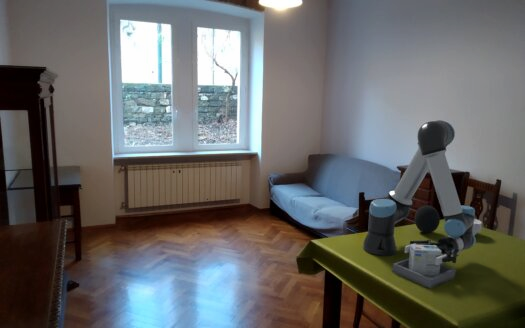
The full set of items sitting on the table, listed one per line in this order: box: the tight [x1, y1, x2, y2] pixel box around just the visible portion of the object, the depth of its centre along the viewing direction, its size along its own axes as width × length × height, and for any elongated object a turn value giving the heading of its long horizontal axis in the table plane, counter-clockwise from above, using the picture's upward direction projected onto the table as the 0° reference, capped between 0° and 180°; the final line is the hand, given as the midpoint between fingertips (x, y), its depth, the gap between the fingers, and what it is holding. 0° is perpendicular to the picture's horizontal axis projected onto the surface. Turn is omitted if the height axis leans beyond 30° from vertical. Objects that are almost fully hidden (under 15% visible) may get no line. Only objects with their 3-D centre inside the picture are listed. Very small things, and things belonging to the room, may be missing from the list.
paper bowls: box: [473, 218, 483, 237], centre depth 209 cm, size 15×15×8 cm
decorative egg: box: [414, 204, 441, 234], centre depth 208 cm, size 12×12×15 cm
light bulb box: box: [408, 243, 442, 276], centre depth 157 cm, size 11×7×11 cm, turn 85°
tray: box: [392, 257, 456, 289], centre depth 158 cm, size 17×17×4 cm
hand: (420, 255), depth 155 cm, fingers open, 13 cm apart
